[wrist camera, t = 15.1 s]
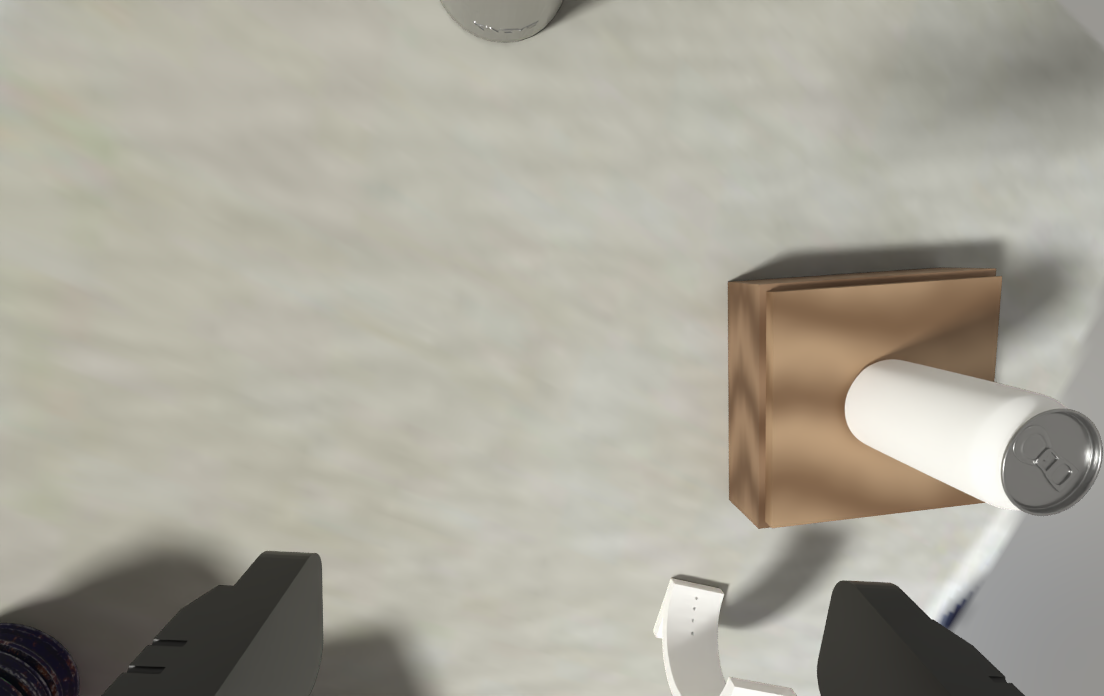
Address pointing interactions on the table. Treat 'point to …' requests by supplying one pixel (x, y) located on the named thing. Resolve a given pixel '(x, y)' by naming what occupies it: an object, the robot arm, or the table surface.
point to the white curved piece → (699, 645)
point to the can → (977, 435)
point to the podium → (842, 385)
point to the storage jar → (34, 664)
